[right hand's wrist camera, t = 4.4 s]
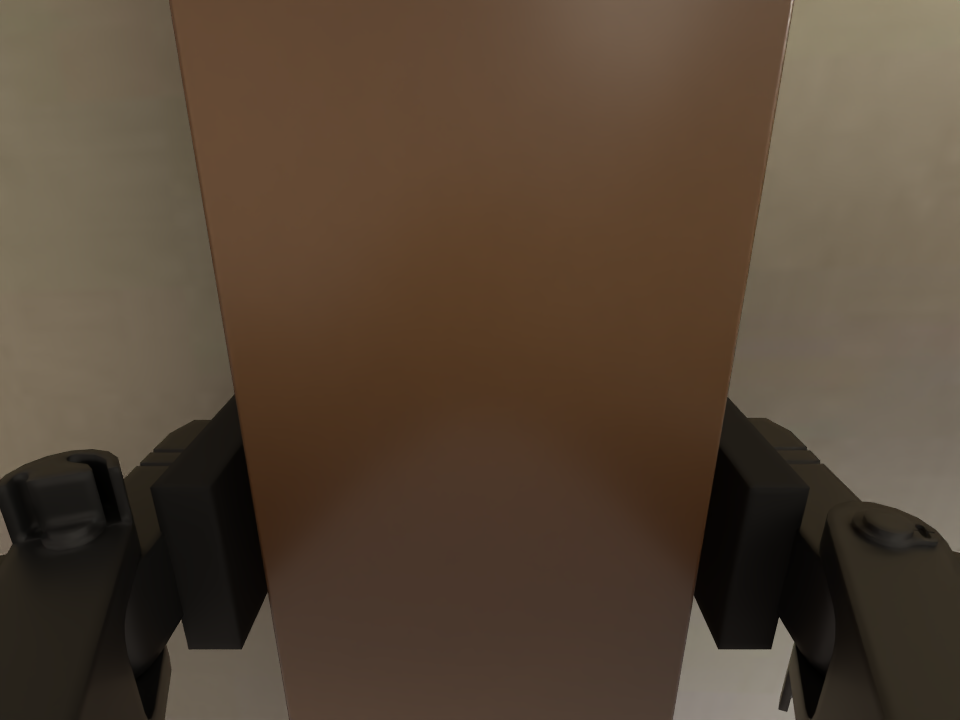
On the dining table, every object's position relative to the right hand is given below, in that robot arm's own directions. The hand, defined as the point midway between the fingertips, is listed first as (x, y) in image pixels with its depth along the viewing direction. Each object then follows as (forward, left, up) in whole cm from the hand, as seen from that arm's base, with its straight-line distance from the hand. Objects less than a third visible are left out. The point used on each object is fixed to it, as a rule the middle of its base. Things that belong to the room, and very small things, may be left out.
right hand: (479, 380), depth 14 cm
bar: (-16, -12, -1) cm, 20 cm away
